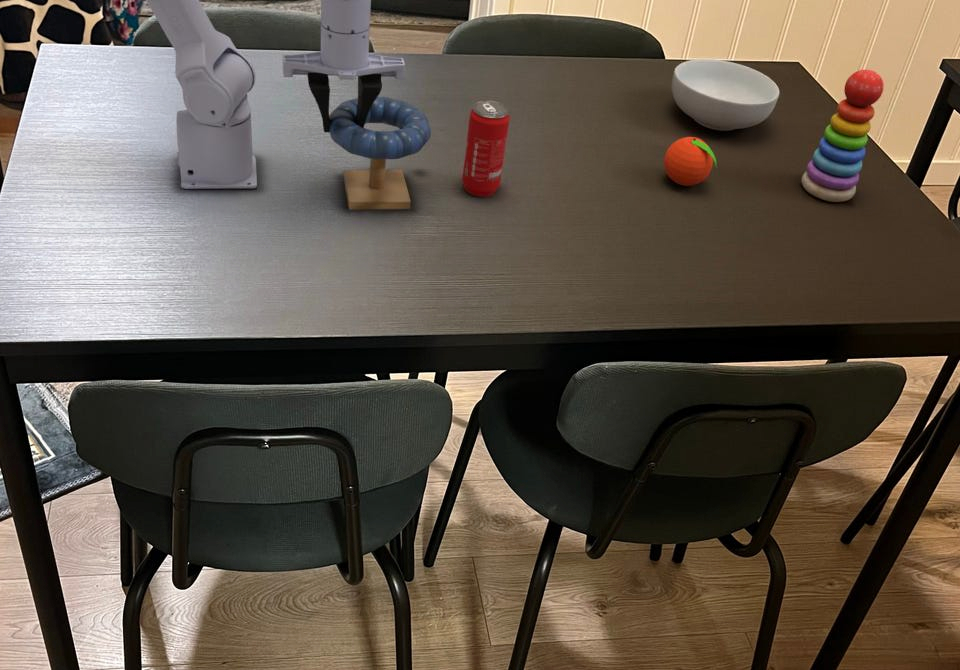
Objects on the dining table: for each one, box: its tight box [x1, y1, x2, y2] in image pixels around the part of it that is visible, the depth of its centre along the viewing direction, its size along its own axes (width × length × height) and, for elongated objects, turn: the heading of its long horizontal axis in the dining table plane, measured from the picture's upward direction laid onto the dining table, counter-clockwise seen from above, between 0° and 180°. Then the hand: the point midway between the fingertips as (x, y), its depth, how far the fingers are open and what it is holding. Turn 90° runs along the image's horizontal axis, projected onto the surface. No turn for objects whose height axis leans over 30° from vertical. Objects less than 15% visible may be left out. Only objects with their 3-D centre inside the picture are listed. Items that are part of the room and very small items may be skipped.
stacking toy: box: [801, 69, 884, 203], centre depth 137 cm, size 8×8×19 cm
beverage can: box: [461, 100, 511, 198], centre depth 128 cm, size 5×5×12 cm
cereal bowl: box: [671, 58, 780, 132], centre depth 155 cm, size 17×17×7 cm
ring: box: [329, 96, 432, 160], centre depth 122 cm, size 13×13×3 cm
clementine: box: [663, 136, 717, 187], centre depth 138 cm, size 8×7×7 cm
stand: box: [342, 158, 411, 211], centre depth 126 cm, size 8×8×7 cm
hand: (342, 128), depth 121 cm, fingers closed on ring, 3 cm apart
